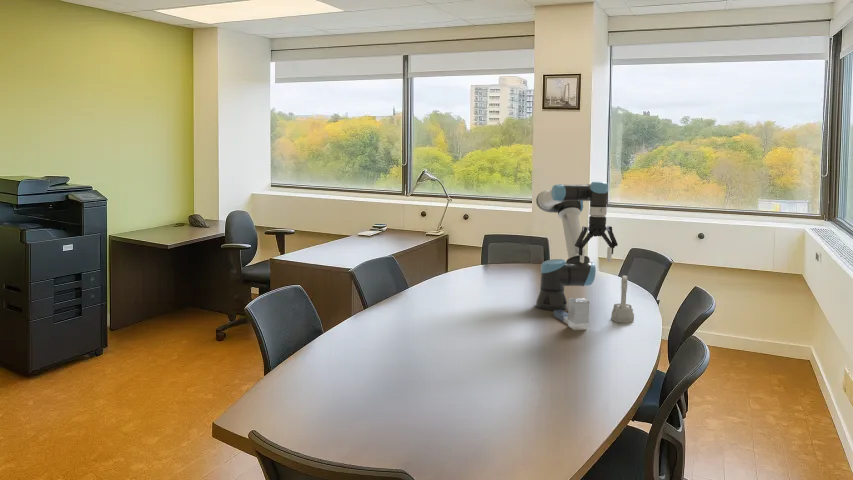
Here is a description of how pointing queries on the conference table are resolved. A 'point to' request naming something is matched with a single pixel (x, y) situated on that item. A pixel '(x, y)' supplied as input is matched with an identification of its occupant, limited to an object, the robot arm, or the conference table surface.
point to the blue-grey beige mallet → (564, 317)
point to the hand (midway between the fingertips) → (595, 262)
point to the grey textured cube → (578, 310)
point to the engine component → (623, 306)
